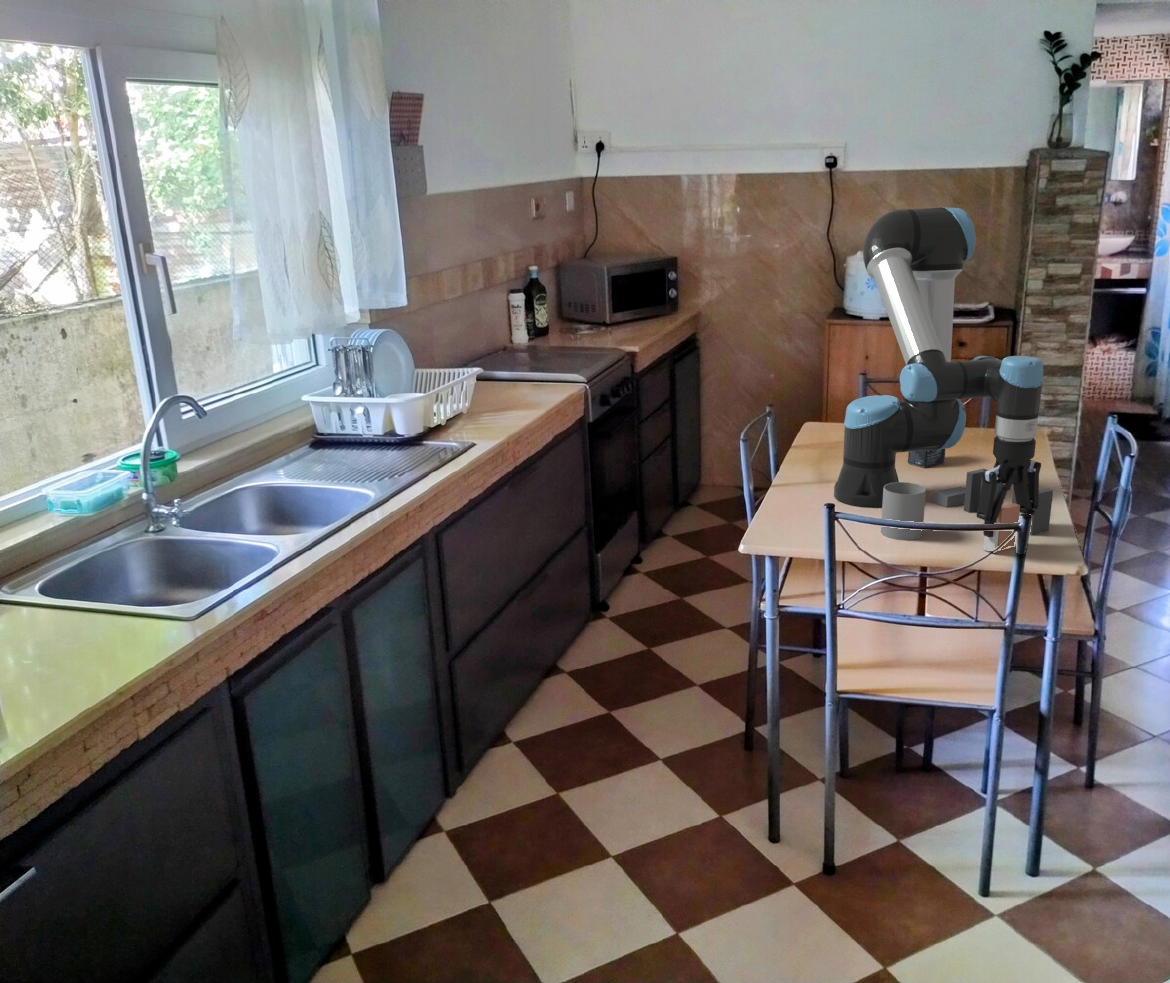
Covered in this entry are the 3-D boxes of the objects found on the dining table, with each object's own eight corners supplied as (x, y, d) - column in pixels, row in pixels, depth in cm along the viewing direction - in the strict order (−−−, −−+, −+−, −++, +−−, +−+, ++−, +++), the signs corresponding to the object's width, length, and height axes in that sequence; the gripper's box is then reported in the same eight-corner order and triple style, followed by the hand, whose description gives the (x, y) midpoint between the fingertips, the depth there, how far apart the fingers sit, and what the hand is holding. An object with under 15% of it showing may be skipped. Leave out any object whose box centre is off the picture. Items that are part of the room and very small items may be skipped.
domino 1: (969, 512, 223) (972, 473, 220) (963, 510, 225) (967, 472, 222) (985, 508, 225) (989, 470, 223) (980, 506, 227) (983, 468, 224)
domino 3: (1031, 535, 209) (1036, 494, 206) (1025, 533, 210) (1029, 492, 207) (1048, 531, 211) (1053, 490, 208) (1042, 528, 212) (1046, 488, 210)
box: (925, 468, 255) (928, 428, 252) (907, 463, 260) (909, 424, 257) (945, 463, 259) (948, 423, 256) (927, 458, 264) (930, 419, 261)
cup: (905, 543, 207) (908, 497, 204) (872, 532, 214) (875, 487, 210) (930, 533, 212) (934, 488, 209) (898, 523, 218) (901, 479, 215)
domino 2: (997, 552, 201) (1002, 509, 198) (991, 549, 202) (995, 507, 200) (1015, 547, 203) (1020, 505, 200) (1009, 544, 204) (1013, 502, 202)
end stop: (946, 507, 227) (947, 496, 226) (933, 502, 230) (934, 492, 230) (972, 501, 230) (973, 490, 230) (959, 496, 234) (960, 486, 233)
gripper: (993, 449, 188) (982, 563, 195) (1067, 433, 196) (1054, 543, 203) (962, 440, 194) (953, 551, 202) (1035, 425, 203) (1024, 532, 210)
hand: (1004, 547), depth 202 cm, fingers open, 7 cm apart
